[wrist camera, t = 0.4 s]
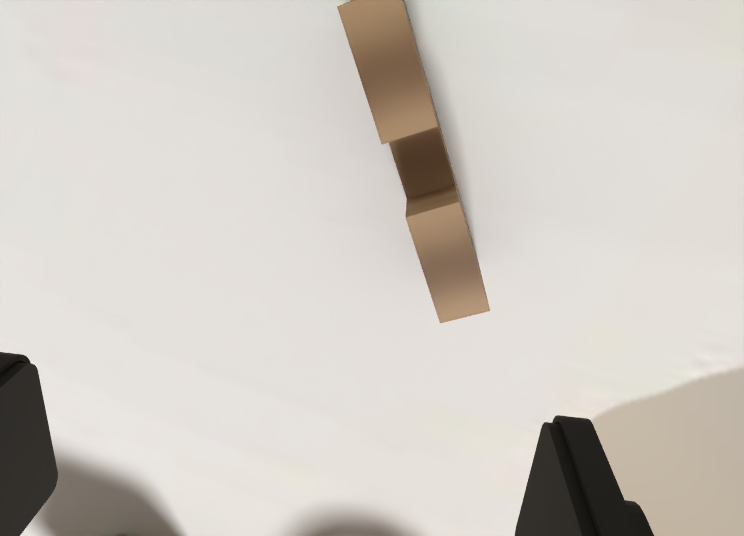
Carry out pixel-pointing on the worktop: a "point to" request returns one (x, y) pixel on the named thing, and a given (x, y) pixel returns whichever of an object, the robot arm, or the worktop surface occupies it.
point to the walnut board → (416, 152)
